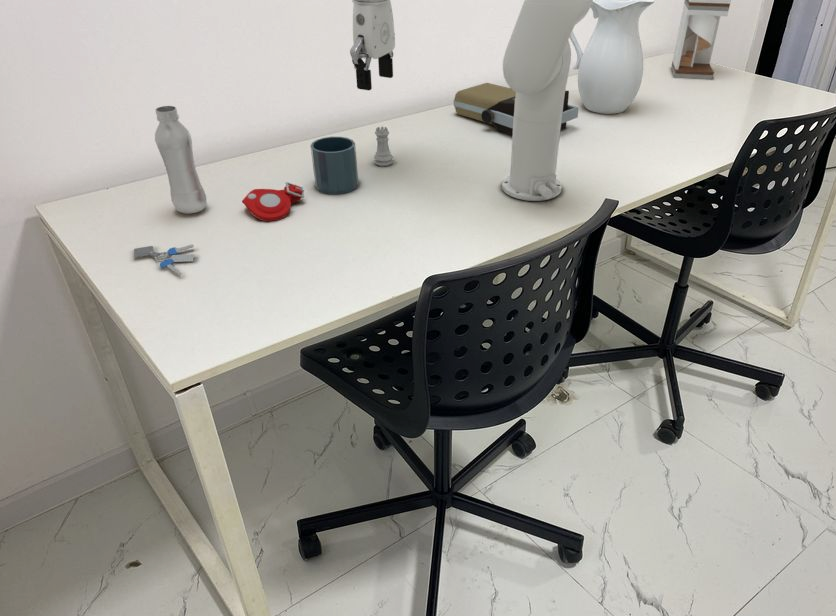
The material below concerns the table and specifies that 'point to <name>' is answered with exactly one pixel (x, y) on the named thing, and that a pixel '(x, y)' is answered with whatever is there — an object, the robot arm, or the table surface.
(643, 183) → the table surface
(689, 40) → the spiral staircase tower model
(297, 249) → the table surface
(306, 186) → the table surface
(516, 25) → the robot arm
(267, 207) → the tracker holder
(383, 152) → the rook chess piece
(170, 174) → the plastic bottle
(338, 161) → the tumbler
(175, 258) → the key chain
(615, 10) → the pitcher
